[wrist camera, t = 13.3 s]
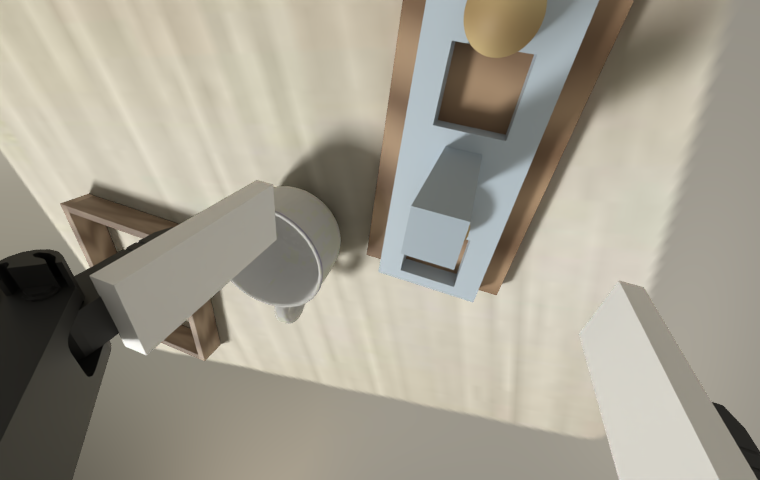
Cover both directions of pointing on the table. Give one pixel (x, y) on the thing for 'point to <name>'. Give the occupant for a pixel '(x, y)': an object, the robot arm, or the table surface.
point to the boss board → (493, 102)
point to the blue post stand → (469, 152)
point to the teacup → (293, 254)
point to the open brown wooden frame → (97, 245)
